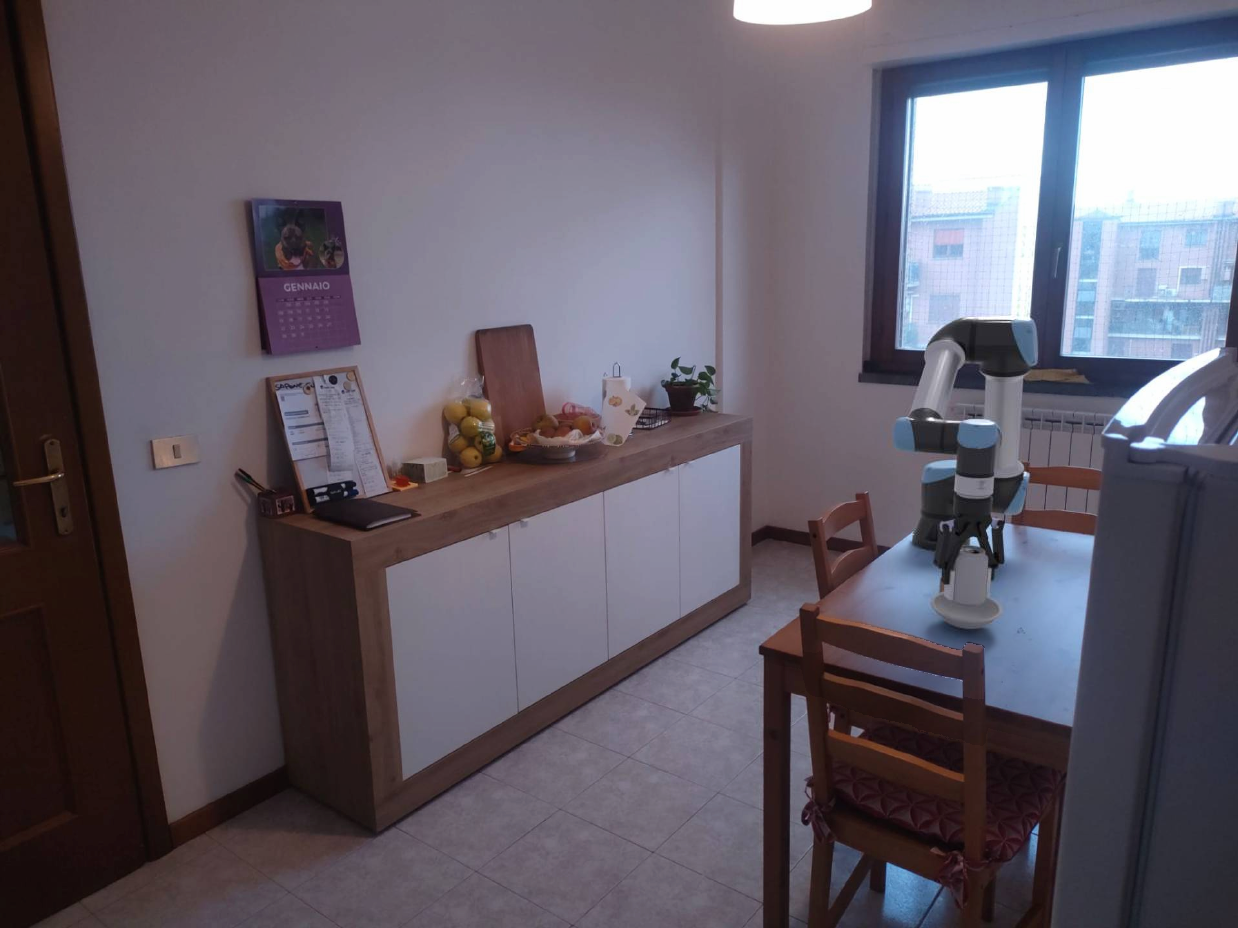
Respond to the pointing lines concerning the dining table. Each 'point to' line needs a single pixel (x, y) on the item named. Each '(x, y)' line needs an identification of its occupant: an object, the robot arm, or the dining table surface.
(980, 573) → the can
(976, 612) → the dish
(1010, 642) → the dining table surface
